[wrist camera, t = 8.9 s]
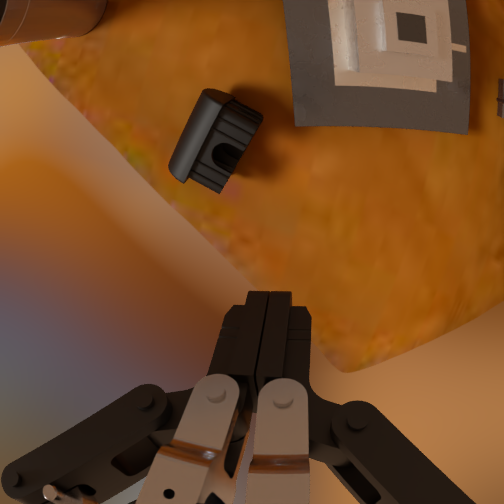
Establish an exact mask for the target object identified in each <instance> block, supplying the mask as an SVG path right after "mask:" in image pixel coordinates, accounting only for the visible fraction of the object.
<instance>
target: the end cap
mask: <svg viewBox="0 0 504 504" xmlns="http://www.w3.org/2000/svg"><path fill="white" fill-rule="evenodd" d="M234 99H235V97H234V96H232V95H230V94H228V93H225V92H222V91H219V90H216V89H210V88H207V89H204V90H203V91H202V93H201V95H200V97H199V99H198V101H197V103H196V105H195V107H194V109H193V111H192V113H191V115H190V117H189V119H188V122H187V124H186V126H185V128H184V130H183V132H182V134H181V137H180V139H179V141H178V143H177V145H176V148H175V150H174V152H173V155H172V157H171V159H170V161H169V165H168V167H169V170H170V172H171V174H172V175H173V176H174V177H175V178H176V179H177V180H179V181H180V182H182V183H183V184H184V183H185V182H186V181H187V179H188V178H191V179H192V180H194V181H196V182H198V183H200V184H202V185H204V186H205V187H207V188H209V189H211V190H213V191H215V192H217V193H218V194H220V193H221V191H222V189H223V187H224V185H225V184H226V182H227V181H228V179H229V177H230V176H231V174H232V172H233V170H234V169H235V167H236V165H237V163H238V162H239V160H240V158H241V156H242V155H243V153H244V151H245V149H246V148H247V146H248V144H249V143H250V141H251V139H252V137H253V136H254V134H255V132H256V131H257V129H258V127H259V126H260V124H261V122H262V120H263V115H262V114H261V113H259V112H257V111H255V110H253V109H251V108H249V107H248V106H246V105H244V104H242V103H240V102H238V101H236V100H234Z"/></svg>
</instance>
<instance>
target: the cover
mask: <svg viewBox="0 0 504 504" xmlns="http://www.w3.org/2000/svg"><path fill="white" fill-rule="evenodd" d="M342 2H343V11H344V20H345V31H346V42H347V55H348V70H351V71H355V72H359V73H375V74H389V75H401V76H410V77H419V78H427V79H434V80H441V81H447V82H452V43H451V28H450V16H449V7H448V0H342Z"/></svg>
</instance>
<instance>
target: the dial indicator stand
mask: <svg viewBox="0 0 504 504" xmlns="http://www.w3.org/2000/svg"><path fill="white" fill-rule="evenodd" d="M497 101H498V112H497V116H500V117H502V118H504V80H503V79H499V92H498V98H497Z"/></svg>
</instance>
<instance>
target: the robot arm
mask: <svg viewBox="0 0 504 504" xmlns="http://www.w3.org/2000/svg"><path fill="white" fill-rule="evenodd" d="M106 3H107V0H0V47H1V46H7V45H12V44H18V43H25V42H32V41H39V40H48V39H59V38H71V37H79V36H82V35H84V34H86V33H87V32H89V31H90V30H91V29H93V28H94V27H95V26H96V24H97V23H98V22H99V20H100V19H101V17H102V15H103V13H104V10H105V8H106ZM310 345H311V315H310V314H309V312H308V310H307V308H306V306H292V292H291V291H271V292H270V291H249V292H248V295H247V299H246V303H245V305H233V307H232V308H231V309H230V310H229V311H228V312H227V313H226V315H225V317H224V321H223V324H222V329H221V330H220V334H219V338H218V340H217V344H216V347H215V350H214V354H213V357H212V360H211V364H210V367H209V371H208V373H207V375H206V377H204V378H203V379H201V380H200V381H199V382H198V383H197V384H196V385H195V387H193V388H191V389H188V390H184V391H178V392H171V393H165V392H164V391H163V390H162V389H161V388H160V387H159V386H156V385H153V384H144V385H140V386H138V387H136V388H134V389H133V390H131V391H130V392H128V393H127V394H125V395H123V396H122V397H120V398H119V399H117V400H115V401H114V402H112V403H111V404H109V405H108V406H106V407H104V408H103V409H101V410H100V411H98V412H96V413H95V414H93V415H92V416H90V417H88V418H87V419H85V420H83V421H82V422H80V423H78V424H77V425H75V426H74V427H72V428H70V429H69V430H67V431H65V432H64V433H62V434H60V435H59V436H57V437H55V438H53V439H52V440H50V441H48V442H47V443H45V444H43V445H42V446H40V447H38V448H36V449H35V450H33V451H31V452H29V453H28V454H26V455H24V456H22V457H20V458H19V459H17V460H15V461H14V462H12V463H10V464H8V466H6V467H5V469H4V470H3V473H2V477H1V482H2V487H3V489H4V491H5V493H6V494H7V495H8V496H10V497H11V498H13V499H15V500H17V501H19V502H21V503H23V504H100V503H103V502H104V501H106V500H108V499H110V498H111V497H113V496H115V495H117V494H118V493H120V492H122V491H123V490H125V489H126V488H128V487H130V486H131V485H133V484H135V483H136V482H138V481H140V480H141V479H143V478H144V477H146V476H147V477H146V480H145V482H144V484H143V487H142V489H141V491H140V494H139V496H138V499H137V500H135V501H132V502H130V503H128V504H233V501H234V497H235V492H236V480H237V476H238V472H239V469H240V465H241V461H242V458H243V455H244V451H245V448H246V444H247V441H248V437H249V433H250V422H251V417H252V412H254V413H257V419H256V430H255V441H254V452H253V459H252V461H251V463H250V467H249V472H248V481H247V491H246V500H245V504H309V494H310V492H309V491H310V489H309V487H310V467H309V458H311V459H314V460H317V461H320V462H324V463H325V464H326V465H327V466H328V468H329V469H330V470H331V471H332V472H333V473H334V475H335V476H336V477H337V478H338V479H339V480H340V482H341V483H342V484H343V485H344V486H345V487H346V488H347V489H348V491H349V492H350V493H351V494H352V495H353V496H354V497H355V499H356V500H357V501H358V502H359V503H360V504H476V503H475V502H474V501H473V500H471V499H470V498H469V497H468V496H467V495H466V494H465V493H464V492H463V491H462V490H461V489H460V488H459V487H457V486H456V485H455V484H454V483H453V482H452V481H451V480H450V479H449V478H448V477H447V476H446V475H445V474H444V473H443V472H442V471H441V470H439V468H437V467H436V466H435V465H434V464H433V463H432V462H431V461H430V460H429V459H428V458H427V457H426V456H425V455H424V454H423V453H422V452H421V451H419V449H418V448H417V447H416V446H415V445H413V443H411V442H410V441H409V440H408V439H407V438H406V437H405V436H404V435H403V434H402V433H401V432H400V431H399V430H398V429H397V428H396V427H395V426H394V425H393V424H392V423H391V422H390V421H389V420H388V419H387V418H386V417H385V416H384V415H383V414H382V413H381V412H380V411H379V410H378V409H377V408H376V407H374V406H373V405H372V404H370V403H368V402H364V401H350V402H347V403H345V404H343V405H339V404H336V403H333V402H330V401H327V400H324V399H322V398H320V397H319V396H318V395H316V393H315V392H314V391H313V390H312V388H311V386H310V383H309V368H310Z"/></svg>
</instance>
